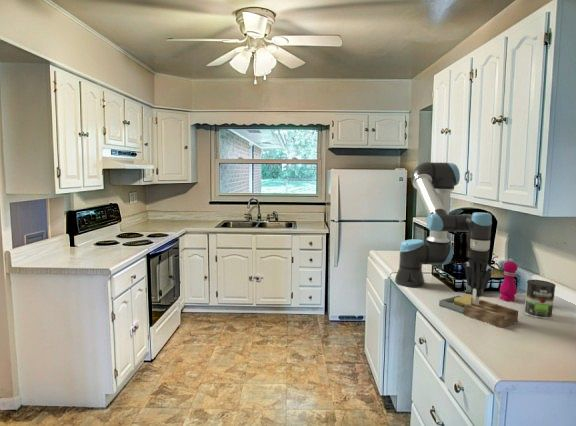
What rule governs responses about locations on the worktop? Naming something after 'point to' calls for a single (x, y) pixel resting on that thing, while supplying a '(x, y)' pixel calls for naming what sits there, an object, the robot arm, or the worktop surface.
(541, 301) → the coffee can
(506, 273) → the pepper mill
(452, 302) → the tray
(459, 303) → the tan cube
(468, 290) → the ceramic mug
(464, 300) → the yellow cube
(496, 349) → the worktop surface
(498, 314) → the channel bar
